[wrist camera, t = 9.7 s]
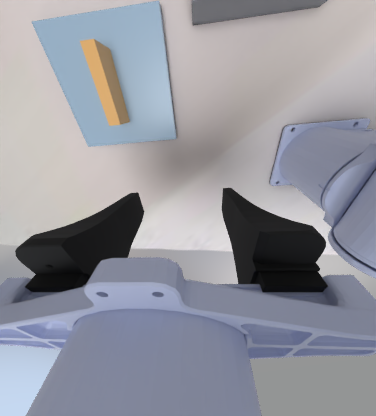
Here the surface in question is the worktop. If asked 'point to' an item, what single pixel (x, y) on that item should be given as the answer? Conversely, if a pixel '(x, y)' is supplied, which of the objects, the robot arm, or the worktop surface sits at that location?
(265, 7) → the tub
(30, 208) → the worktop surface
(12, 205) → the worktop surface
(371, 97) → the worktop surface
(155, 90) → the lid
